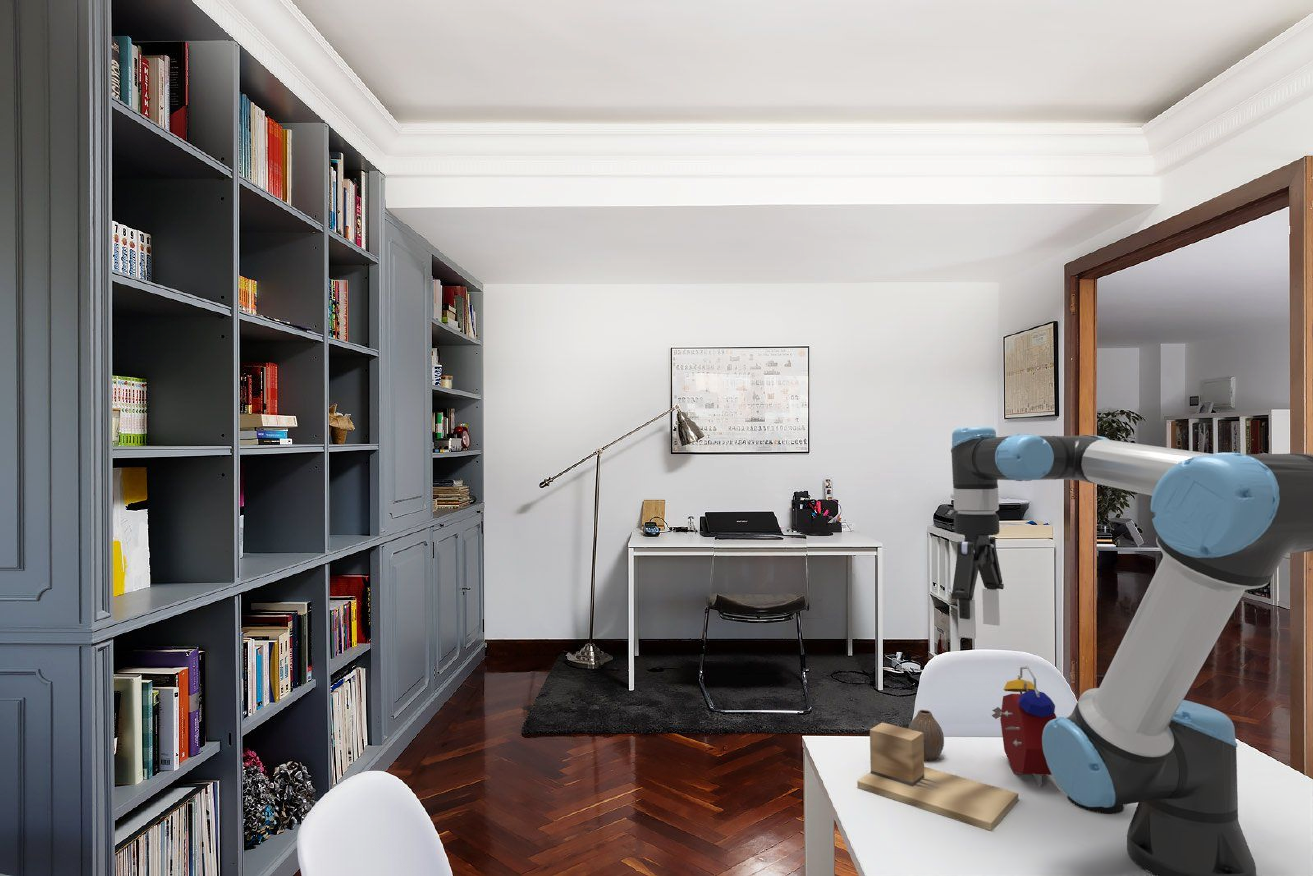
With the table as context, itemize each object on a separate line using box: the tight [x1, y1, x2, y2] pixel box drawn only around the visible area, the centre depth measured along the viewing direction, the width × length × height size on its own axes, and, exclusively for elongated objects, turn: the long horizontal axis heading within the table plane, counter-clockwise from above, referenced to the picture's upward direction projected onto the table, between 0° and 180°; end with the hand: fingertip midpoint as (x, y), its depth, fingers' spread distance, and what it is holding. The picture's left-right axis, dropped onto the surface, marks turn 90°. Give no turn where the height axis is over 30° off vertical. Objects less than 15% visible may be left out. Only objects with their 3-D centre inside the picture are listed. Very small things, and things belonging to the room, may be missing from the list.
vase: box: [907, 709, 945, 761], centre depth 144 cm, size 7×7×9 cm
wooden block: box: [869, 722, 925, 786], centre depth 133 cm, size 8×5×8 cm, turn 47°
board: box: [856, 766, 1019, 832], centre depth 128 cm, size 23×14×1 cm, turn 47°
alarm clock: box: [991, 666, 1058, 787], centre depth 136 cm, size 15×9×20 cm, turn 171°
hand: (979, 630), depth 130 cm, fingers open, 13 cm apart
